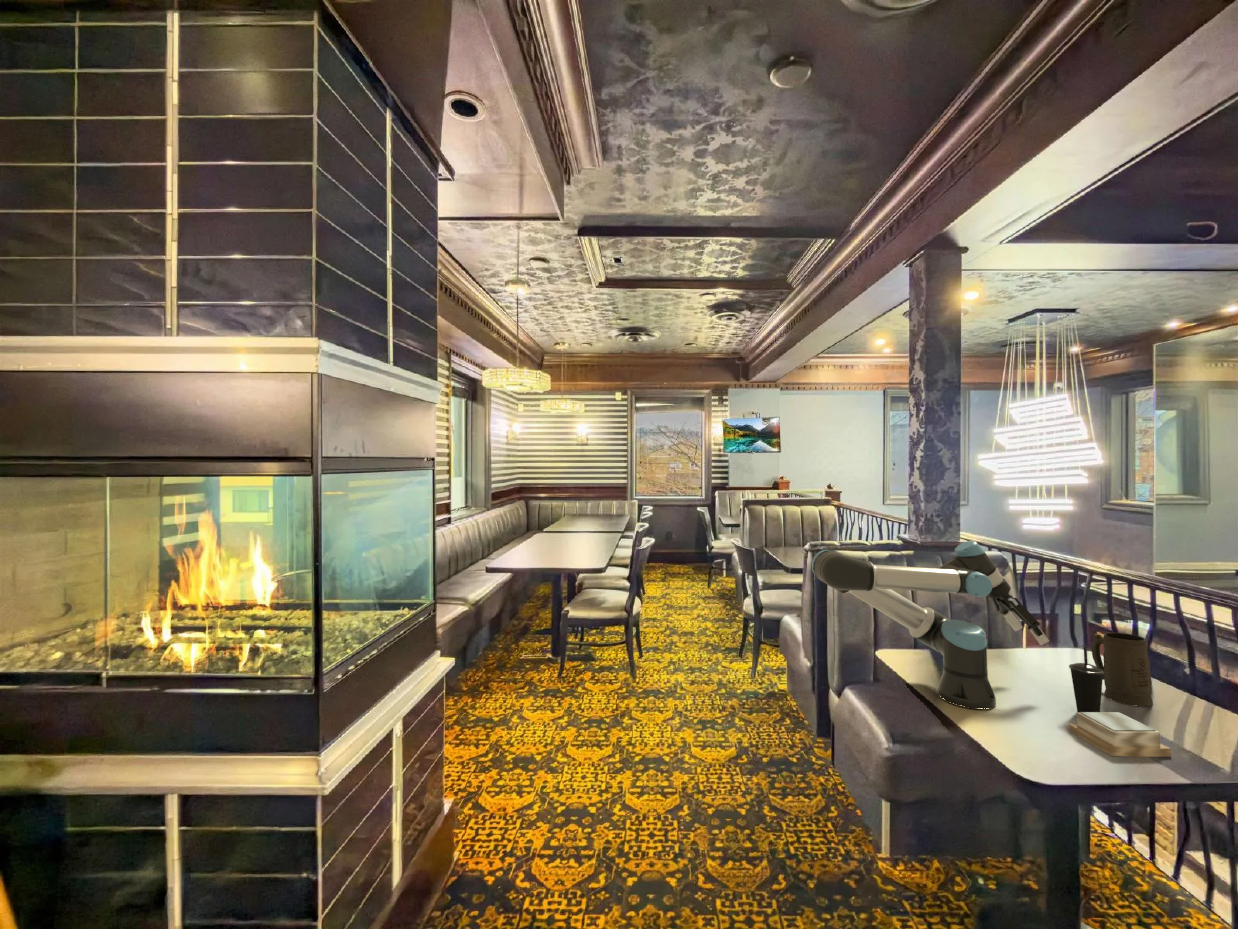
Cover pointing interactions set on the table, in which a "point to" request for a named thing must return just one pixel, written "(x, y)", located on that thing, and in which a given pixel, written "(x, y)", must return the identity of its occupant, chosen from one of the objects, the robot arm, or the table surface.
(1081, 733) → the plinth
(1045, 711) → the table surface
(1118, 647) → the beer stein
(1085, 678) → the drinking cup
